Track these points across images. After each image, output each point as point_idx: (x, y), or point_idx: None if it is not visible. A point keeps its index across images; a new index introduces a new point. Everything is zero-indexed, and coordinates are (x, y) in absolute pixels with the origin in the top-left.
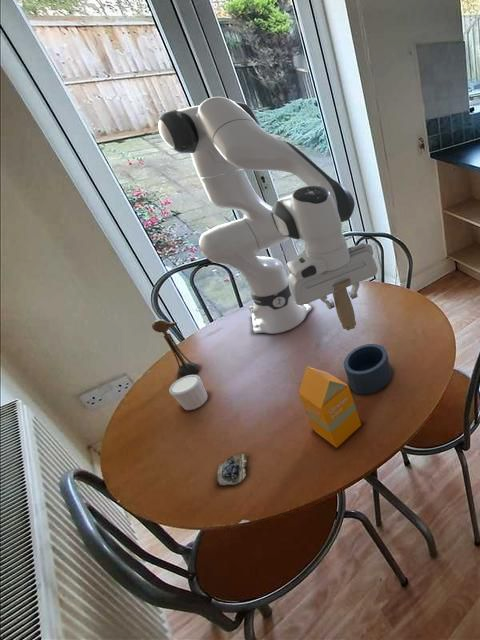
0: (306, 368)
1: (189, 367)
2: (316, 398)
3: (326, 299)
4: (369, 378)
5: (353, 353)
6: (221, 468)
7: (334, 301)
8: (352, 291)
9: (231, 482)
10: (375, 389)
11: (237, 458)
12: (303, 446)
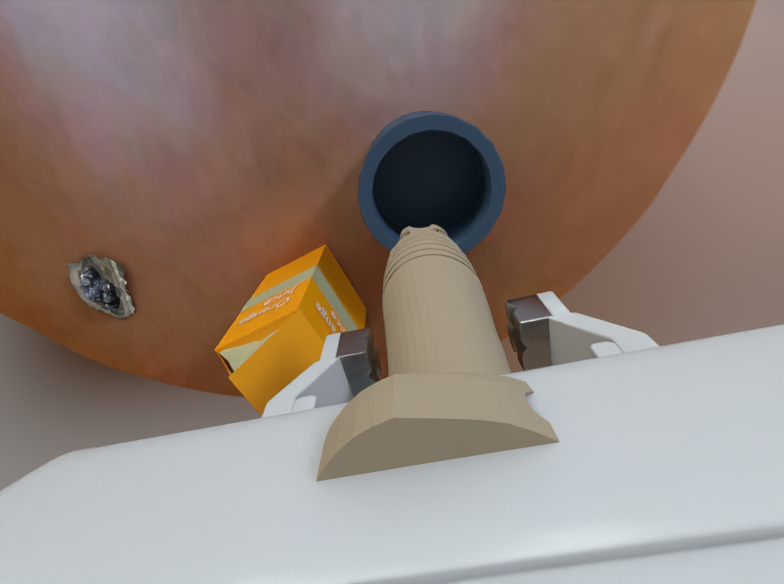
0: (230, 374)
1: None
2: None
3: (331, 378)
4: None
5: (400, 140)
6: (76, 276)
7: (387, 350)
8: (547, 342)
9: (110, 312)
10: None
11: (104, 266)
12: (243, 299)
